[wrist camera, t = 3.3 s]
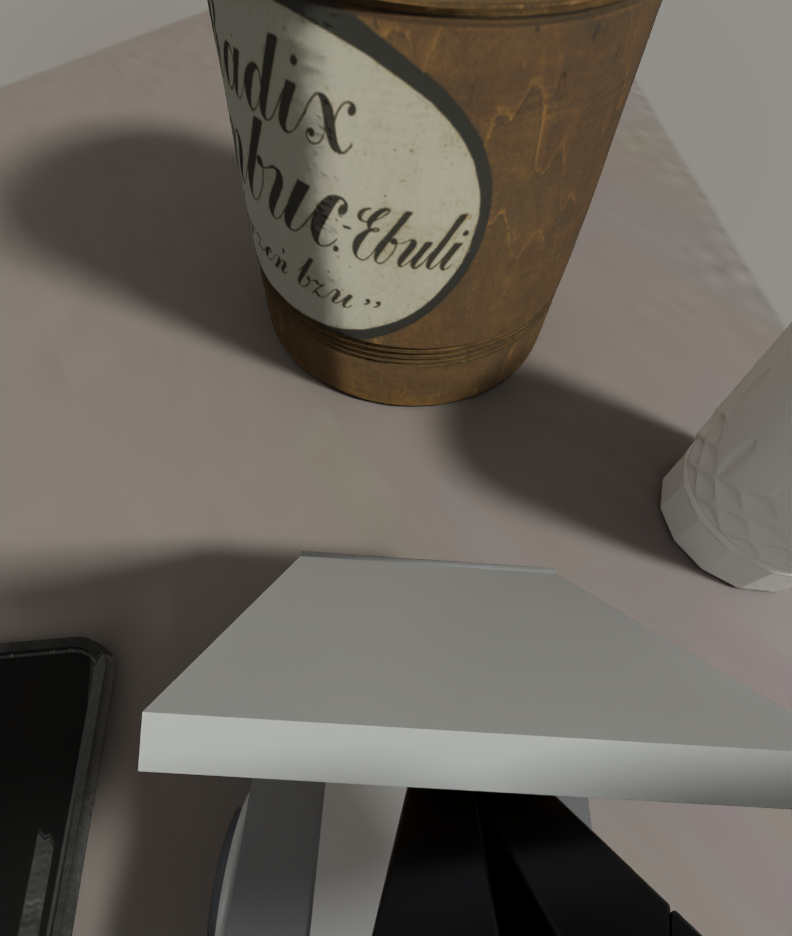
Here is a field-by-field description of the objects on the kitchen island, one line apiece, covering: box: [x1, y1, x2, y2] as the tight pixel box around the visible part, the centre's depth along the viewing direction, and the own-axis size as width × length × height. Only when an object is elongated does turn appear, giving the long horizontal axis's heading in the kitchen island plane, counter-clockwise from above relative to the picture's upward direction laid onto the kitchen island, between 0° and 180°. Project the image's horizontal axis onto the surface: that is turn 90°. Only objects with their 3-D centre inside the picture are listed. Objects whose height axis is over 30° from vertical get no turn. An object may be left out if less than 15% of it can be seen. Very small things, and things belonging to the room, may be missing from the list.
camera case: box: [207, 778, 592, 936], centre depth 15 cm, size 11×9×5 cm
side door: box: [138, 551, 792, 809], centre depth 10 cm, size 10×8×1 cm
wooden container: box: [207, 0, 662, 406], centre depth 19 cm, size 15×15×22 cm
